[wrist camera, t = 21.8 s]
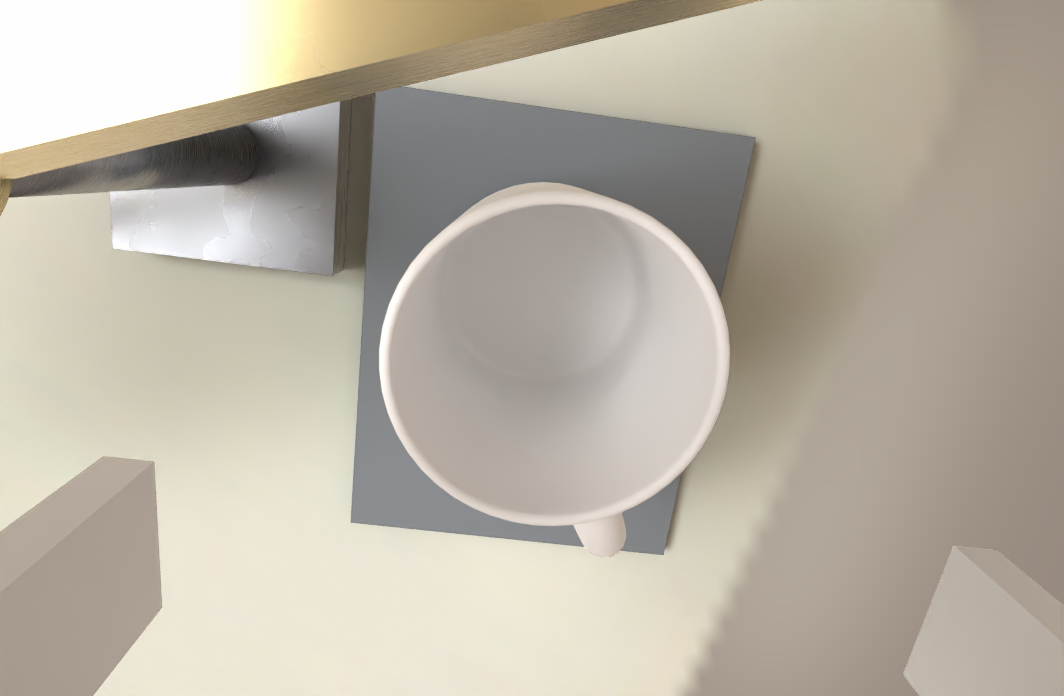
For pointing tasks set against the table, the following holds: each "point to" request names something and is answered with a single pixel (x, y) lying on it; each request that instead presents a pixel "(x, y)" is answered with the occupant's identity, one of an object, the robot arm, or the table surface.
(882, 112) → the table surface
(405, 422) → the mug
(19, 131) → the lever
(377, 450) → the felt mat
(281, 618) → the table surface
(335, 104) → the lever post
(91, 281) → the table surface
